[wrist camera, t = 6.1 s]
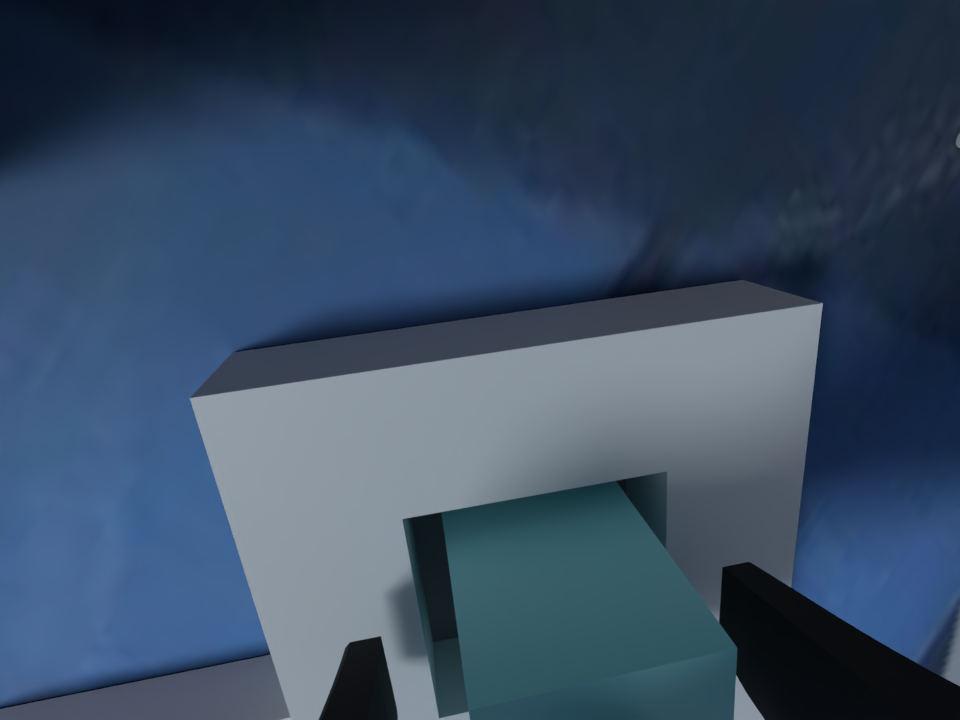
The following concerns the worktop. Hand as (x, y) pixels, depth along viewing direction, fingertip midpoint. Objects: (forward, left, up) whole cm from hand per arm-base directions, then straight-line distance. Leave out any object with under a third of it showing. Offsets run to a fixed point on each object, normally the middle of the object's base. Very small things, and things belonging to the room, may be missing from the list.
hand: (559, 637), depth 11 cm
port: (0, 0, -4) cm, 4 cm away
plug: (0, 0, -3) cm, 3 cm away
